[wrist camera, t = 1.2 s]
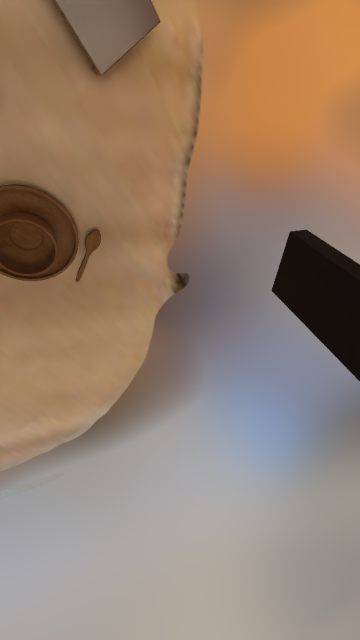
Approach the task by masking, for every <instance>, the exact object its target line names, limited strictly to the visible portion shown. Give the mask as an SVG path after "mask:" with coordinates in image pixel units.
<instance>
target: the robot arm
mask: <svg viewBox="0 0 360 640" xmlns="http://www.w3.org/2000/svg"><path fill="white" fill-rule="evenodd" d="M272 292H273V293H274V294H275V295H277V297H278V298H279V299H280V300H281V301H282V302H283V303H284V304H285V305H286V306H287V307H288V308H289V309H290V310H291V311H292V312H293V313H294V314H295V315H296V316H297V317H298V318H299V319H300V320H301V321H302V322H303V323H304V324H305V325H306V326H307V327H308V328H309V330H310V331H311V332H312V333H313V334H314V335H315V336H316V337H317V338H318V339H319V340H320V341H321V342H322V343H323V344H324V345H325V346H326V347H327V348H328V349H329V350H330V351H331V352H332V353H333V354H334V355H335V356H336V357H337V358H338V359H339V360H340V362H342V364H343V365H344V366H345V367H346V368H347V369H348V370H349V371H350V372H351V373H352V374H353V375H354V376H355V377H356V378H357V379H358V380H359V381H360V265H359V264H358V263H356V262H355V261H353V260H352V259H350V258H349V257H347V256H346V255H344V254H342V253H341V252H340V251H338V250H336V249H335V248H334V247H332V246H330V245H329V244H327V243H326V242H324V241H323V240H321V239H320V238H318V237H317V236H315V235H313V234H312V233H311V232H309V231H308V230H300V231H291V232H290V233H289V237H288V240H287V243H286V246H285V249H284V253H283V256H282V259H281V262H280V265H279V269H278V272H277V275H276V278H275V281H274V285H273V288H272Z"/></svg>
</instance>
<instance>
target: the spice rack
mask: <svg viewBox="0 0 360 640" xmlns="http://www.w3.org/2000/svg"><path fill="white" fill-rule="evenodd" d="M53 1H54V2H55V4H56V6H57V7H58V9H59V11H60V12H61V14H62V15H63V17H64V19H65V20H66V22H67V23H68V25H69V27H70V28H71V30H72V31H73V33H74V35H75V36H76V38H77V40H78V41H79V43H80V44H81V46H82V48H83V49H84V51H85V52H86V54H87V56H88V57H89V59H90V60H91V62H92V64H93V65H94V68H93V71H94V72H95V74H96V75H103V74H104V73H105V72H106V71H107V70H108V69H109V68H110V67H111V66H113V65H114V64H115V63H116V62H117V61H118V60H119V59H120V58H121V57H122V56H124V55H125V54H126V53H127V52H128V51H129V50H130V49H131V48H132V47H133V46H135V45H136V44H137V43H138V42H139V41H140V40H141V39H142V38H143V37H144V36H146V35H147V34H148V33H149V32H150V31H151V30H152V29H153V28H154V27H155V26H157V25H158V24H159V23H160V20H159V17H158V15H157V13H156V10H155V8H154V6H153V4H152V1H151V0H53Z"/></svg>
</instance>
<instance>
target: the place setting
mask: <svg viewBox="0 0 360 640" xmlns="http://www.w3.org/2000/svg"><path fill="white" fill-rule="evenodd" d="M100 242H101V236H100V233H99V231H96V230H95V231H93V232H91V233H90V234H89V235H88V236H87V238H86V241H85V246H86V250H87V252H86V256H85V258H84V261H83V263H82V265H81V267H80V270H79V272H78V275H77V279H76V282H78V281H79V280H80V278H81V277H82V274H83V272H84V269H85V266H86V263H87V261H88V258H89V256H90V254H91V253H92V252H93V251H94V250H95V249H96V248H97V247H98V246H99V245H100ZM77 250H78V234H77V229H76V226H75V224H74V221H73V219H72V218H71V216H70V214H69V213H68V212H67V210H66V209H65V208H64V207H63V206H62V205H61V204H60V203H59V202H58V201H57V200H55V199H54V198H53V197H51V196H50V195H48V194H46V193H44V192H42V191H40V190H38V189H35V188H32V187H28V186H23V185H5V186H0V273H1V274H3V275H5V276H8V277H11V278H14V279H18V280H24V281H39V280H45V279H49V278H52V277H54V276H56V275H58V274H60V273H62V272H63V271H64V270H65V269H67V268H68V267H69V265H70V264H71V263H72V261H73V260H74V258H75V256H76V253H77Z"/></svg>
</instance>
